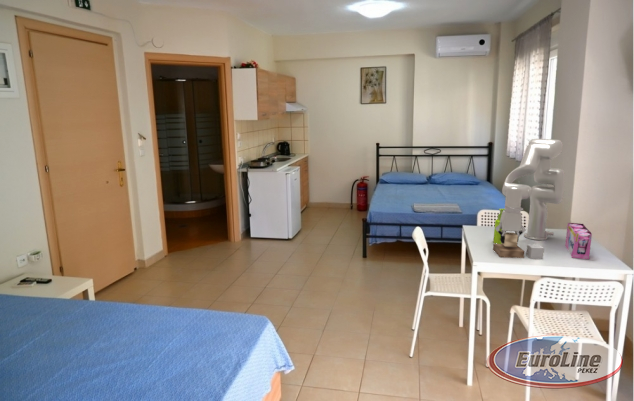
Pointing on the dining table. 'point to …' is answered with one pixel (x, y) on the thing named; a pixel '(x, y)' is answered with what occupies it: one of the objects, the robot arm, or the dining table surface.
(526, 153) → the robot arm
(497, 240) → the soap dispenser
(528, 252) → the grey cube
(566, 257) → the dining table surface
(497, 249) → the walnut block
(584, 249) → the gum box
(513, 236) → the maple cube
